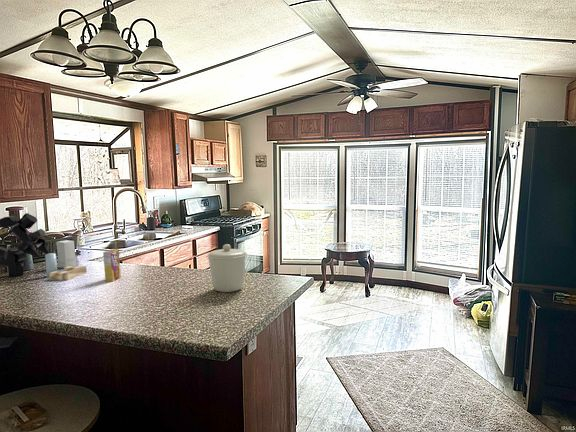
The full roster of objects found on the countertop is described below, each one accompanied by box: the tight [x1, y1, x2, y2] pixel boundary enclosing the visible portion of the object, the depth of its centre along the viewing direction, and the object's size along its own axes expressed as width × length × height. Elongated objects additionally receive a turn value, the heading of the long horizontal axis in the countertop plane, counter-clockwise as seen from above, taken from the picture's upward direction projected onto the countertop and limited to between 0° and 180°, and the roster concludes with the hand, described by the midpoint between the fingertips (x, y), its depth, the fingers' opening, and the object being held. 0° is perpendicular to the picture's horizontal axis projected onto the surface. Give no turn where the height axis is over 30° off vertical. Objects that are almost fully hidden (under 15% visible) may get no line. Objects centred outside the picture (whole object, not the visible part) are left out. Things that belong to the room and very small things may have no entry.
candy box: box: [102, 248, 122, 283], centre depth 205 cm, size 9×4×15 cm, turn 177°
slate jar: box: [44, 252, 58, 278], centre depth 215 cm, size 5×5×12 cm
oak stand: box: [49, 265, 88, 281], centre depth 214 cm, size 10×16×4 cm, turn 174°
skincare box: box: [55, 239, 77, 269], centre depth 236 cm, size 8×7×16 cm
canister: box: [206, 243, 248, 293], centre depth 184 cm, size 18×18×21 cm
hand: (44, 255), depth 217 cm, fingers open, 9 cm apart
